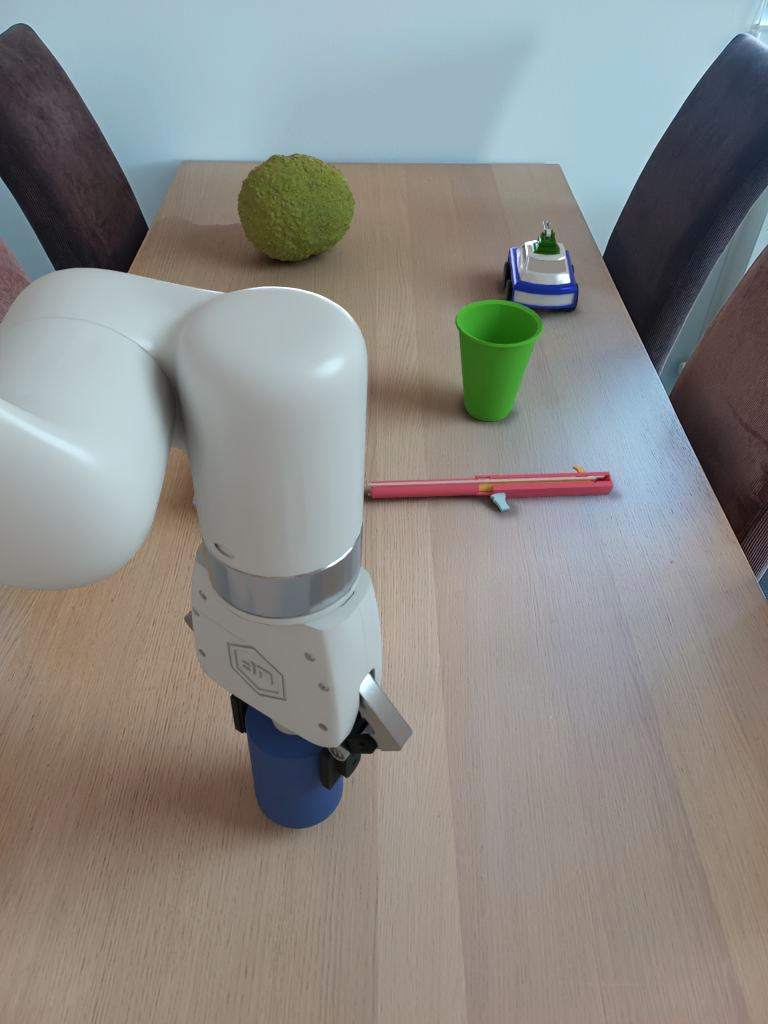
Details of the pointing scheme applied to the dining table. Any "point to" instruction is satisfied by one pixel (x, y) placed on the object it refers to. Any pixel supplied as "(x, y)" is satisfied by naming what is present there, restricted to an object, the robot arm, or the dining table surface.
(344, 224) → the fruit
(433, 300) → the dining table surface
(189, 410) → the robot arm
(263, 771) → the bottle
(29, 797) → the dining table surface
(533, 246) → the toy car
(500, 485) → the pink long slotted bar
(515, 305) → the cup
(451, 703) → the dining table surface
